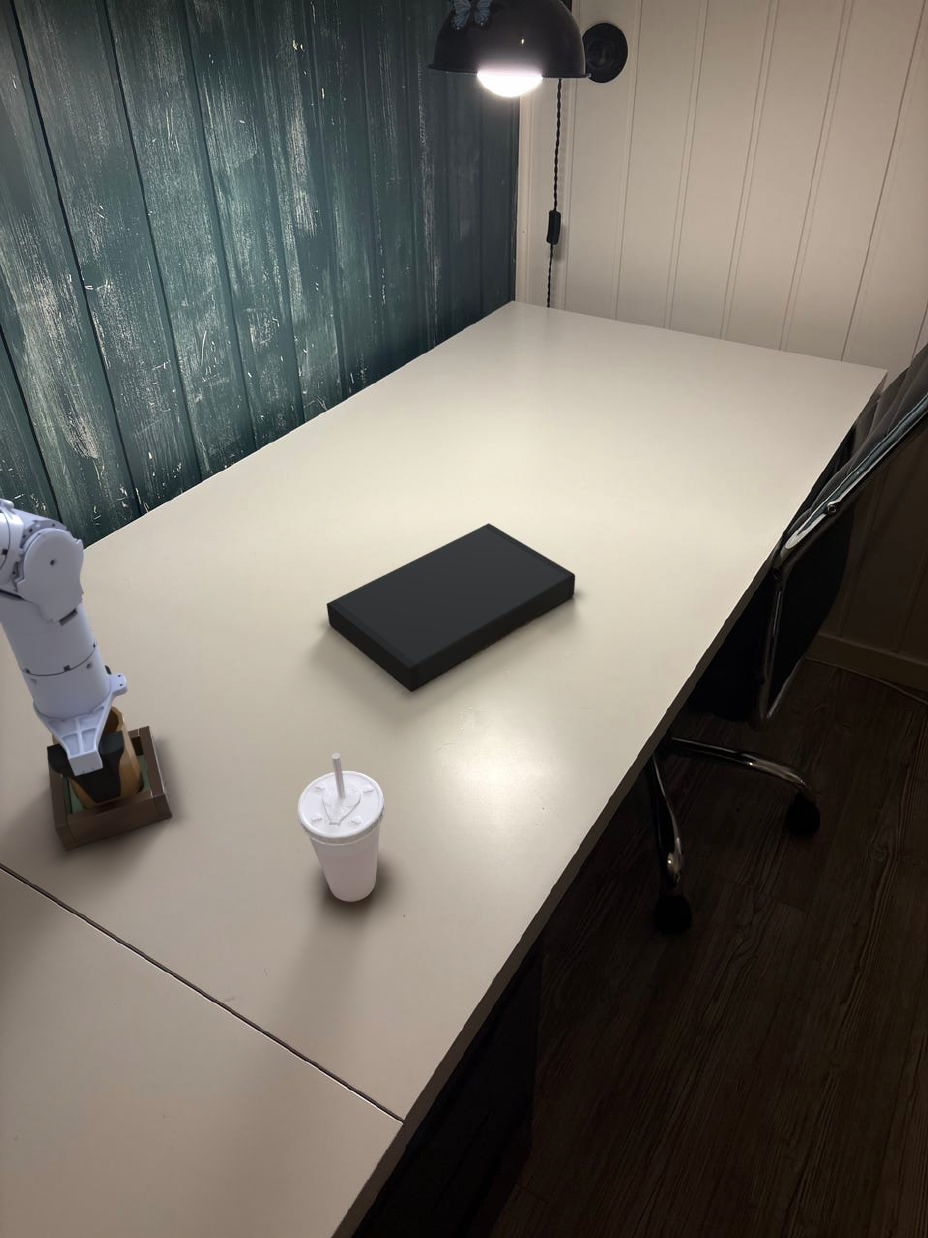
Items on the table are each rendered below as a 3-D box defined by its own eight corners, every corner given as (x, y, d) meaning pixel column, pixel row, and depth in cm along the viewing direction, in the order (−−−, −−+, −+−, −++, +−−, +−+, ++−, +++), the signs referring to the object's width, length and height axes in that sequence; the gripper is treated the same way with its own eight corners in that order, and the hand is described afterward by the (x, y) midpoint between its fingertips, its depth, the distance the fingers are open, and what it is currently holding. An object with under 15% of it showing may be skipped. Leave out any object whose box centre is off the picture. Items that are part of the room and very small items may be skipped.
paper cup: (79, 818, 77) (54, 761, 72) (73, 772, 81) (49, 715, 76) (147, 797, 78) (127, 740, 74) (138, 753, 82) (118, 696, 78)
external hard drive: (329, 624, 99) (326, 602, 97) (488, 543, 110) (488, 522, 109) (411, 691, 90) (410, 669, 88) (574, 596, 102) (575, 574, 100)
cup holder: (65, 851, 76) (54, 828, 74) (57, 777, 82) (46, 754, 80) (172, 816, 79) (165, 793, 77) (156, 748, 85) (149, 725, 83)
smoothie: (398, 851, 75) (386, 732, 67) (385, 920, 70) (371, 800, 62) (322, 846, 76) (300, 726, 67) (303, 913, 71) (278, 794, 62)
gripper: (123, 695, 66) (164, 818, 74) (101, 586, 76) (139, 704, 85) (18, 724, 64) (73, 847, 72) (10, 608, 74) (59, 726, 83)
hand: (103, 771), depth 78 cm, fingers closed on paper cup, 5 cm apart
